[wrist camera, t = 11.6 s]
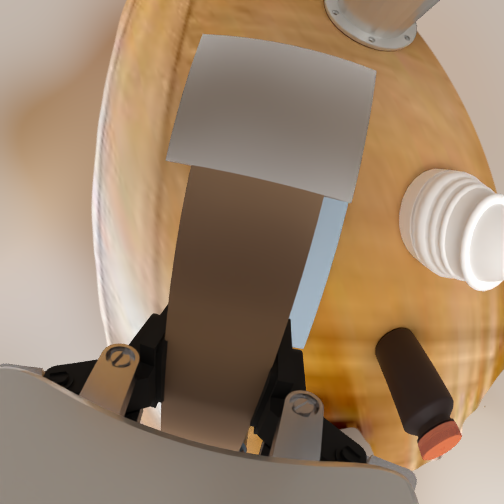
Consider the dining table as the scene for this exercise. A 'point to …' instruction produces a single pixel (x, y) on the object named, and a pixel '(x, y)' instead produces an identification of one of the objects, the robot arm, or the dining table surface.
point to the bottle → (418, 393)
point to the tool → (250, 216)
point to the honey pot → (455, 227)
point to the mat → (316, 269)
